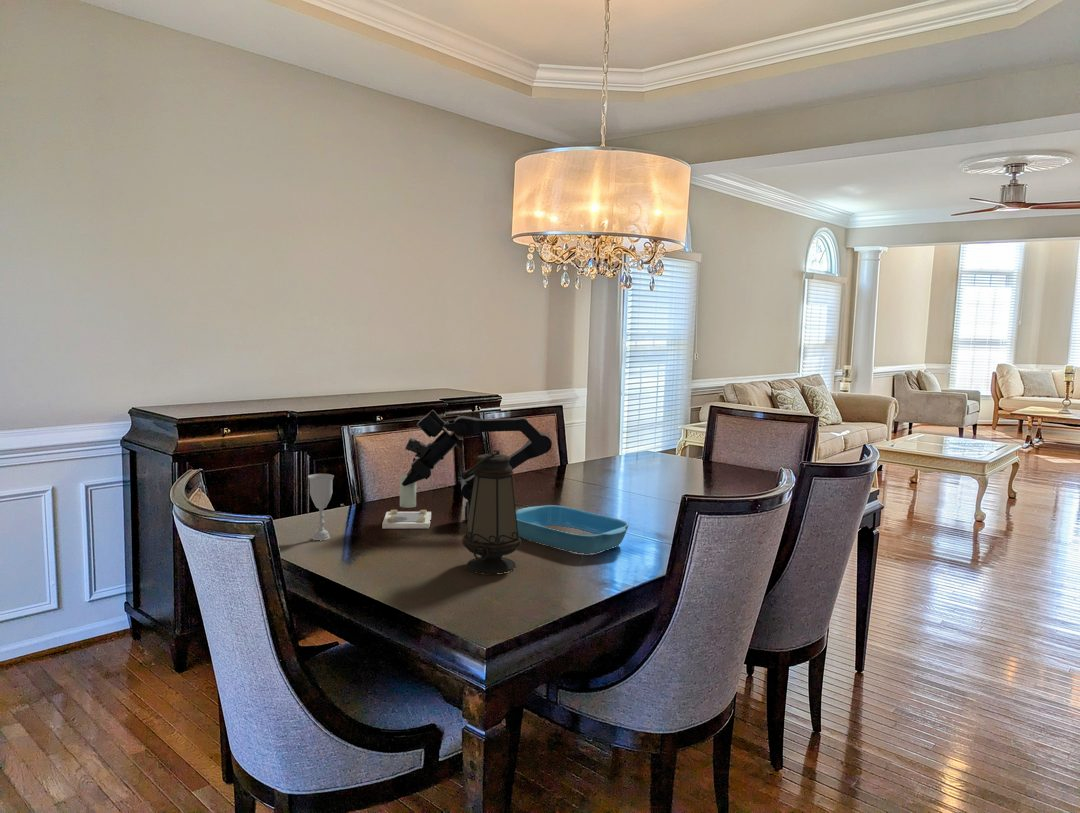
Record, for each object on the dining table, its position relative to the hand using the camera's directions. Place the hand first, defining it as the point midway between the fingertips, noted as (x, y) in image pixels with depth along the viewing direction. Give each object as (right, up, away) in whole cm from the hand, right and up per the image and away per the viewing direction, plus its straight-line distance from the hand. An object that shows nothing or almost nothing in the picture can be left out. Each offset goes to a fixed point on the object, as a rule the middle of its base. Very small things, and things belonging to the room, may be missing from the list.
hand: (403, 483), depth 224 cm
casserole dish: (+50, -16, -13) cm, 54 cm away
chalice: (-20, -14, -18) cm, 30 cm away
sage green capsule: (+1, -7, +1) cm, 7 cm away
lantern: (+30, -18, -37) cm, 51 cm away
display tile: (+1, -12, +2) cm, 12 cm away
